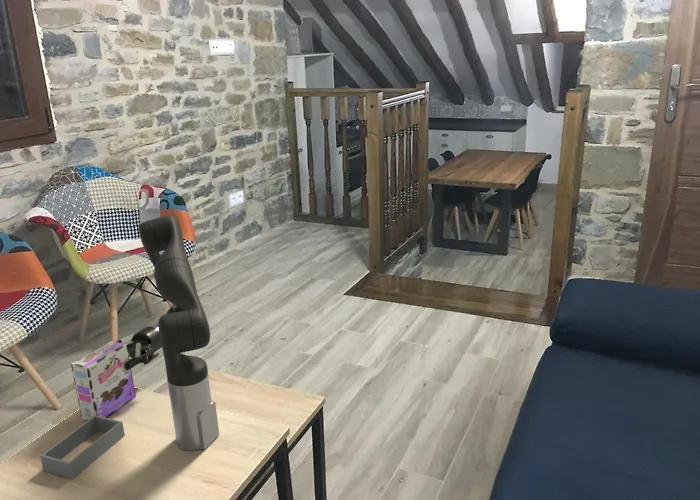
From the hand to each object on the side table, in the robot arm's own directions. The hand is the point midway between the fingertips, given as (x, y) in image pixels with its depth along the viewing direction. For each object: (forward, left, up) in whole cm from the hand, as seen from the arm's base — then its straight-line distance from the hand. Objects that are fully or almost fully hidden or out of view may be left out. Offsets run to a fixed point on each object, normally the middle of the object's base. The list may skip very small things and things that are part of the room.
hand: (112, 364), depth 157 cm
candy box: (0, +4, -11) cm, 12 cm away
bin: (-8, +20, -11) cm, 24 cm away
